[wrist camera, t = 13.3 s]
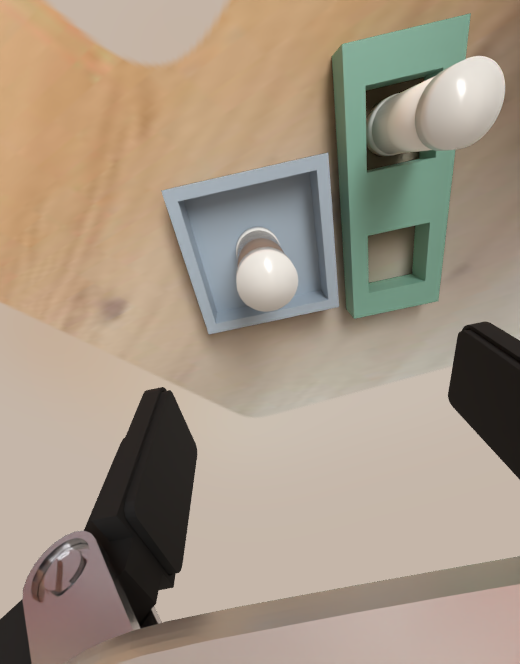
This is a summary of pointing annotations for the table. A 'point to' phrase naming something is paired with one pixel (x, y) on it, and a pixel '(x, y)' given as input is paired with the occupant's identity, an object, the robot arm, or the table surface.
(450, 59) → the block
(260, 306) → the fuse
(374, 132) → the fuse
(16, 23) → the table surface
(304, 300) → the parts tray
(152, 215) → the table surface
